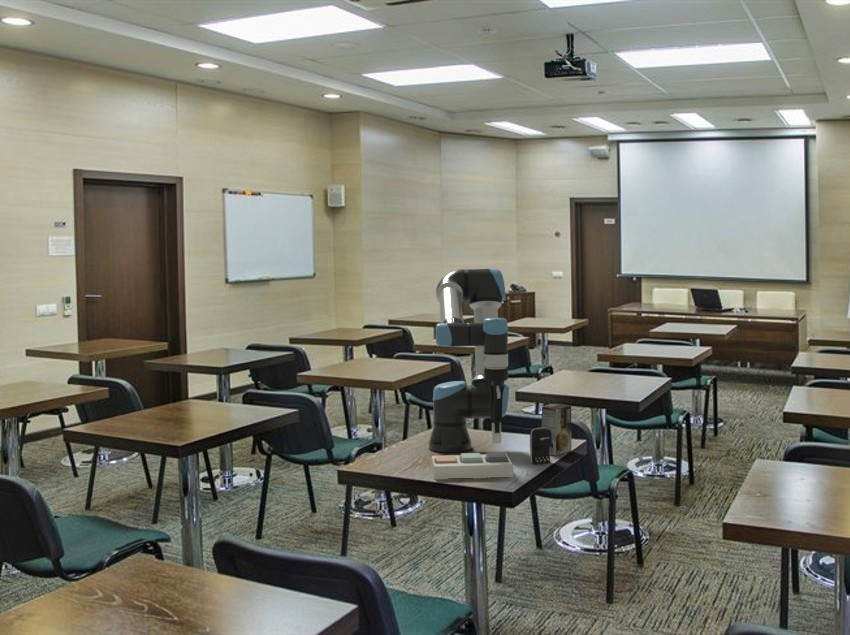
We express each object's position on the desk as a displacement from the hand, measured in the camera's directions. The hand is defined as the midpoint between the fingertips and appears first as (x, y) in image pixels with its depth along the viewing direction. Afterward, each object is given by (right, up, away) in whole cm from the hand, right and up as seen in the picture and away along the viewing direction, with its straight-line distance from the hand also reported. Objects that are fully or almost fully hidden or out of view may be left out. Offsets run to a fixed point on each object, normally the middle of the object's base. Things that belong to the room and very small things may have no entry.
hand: (496, 442), depth 266 cm
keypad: (-8, -10, +1) cm, 12 cm away
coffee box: (+23, -7, +27) cm, 36 cm away
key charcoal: (0, -7, +1) cm, 7 cm away
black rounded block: (+16, -9, +12) cm, 21 cm away
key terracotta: (-16, -8, 0) cm, 18 cm away
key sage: (-8, -7, +1) cm, 11 cm away
